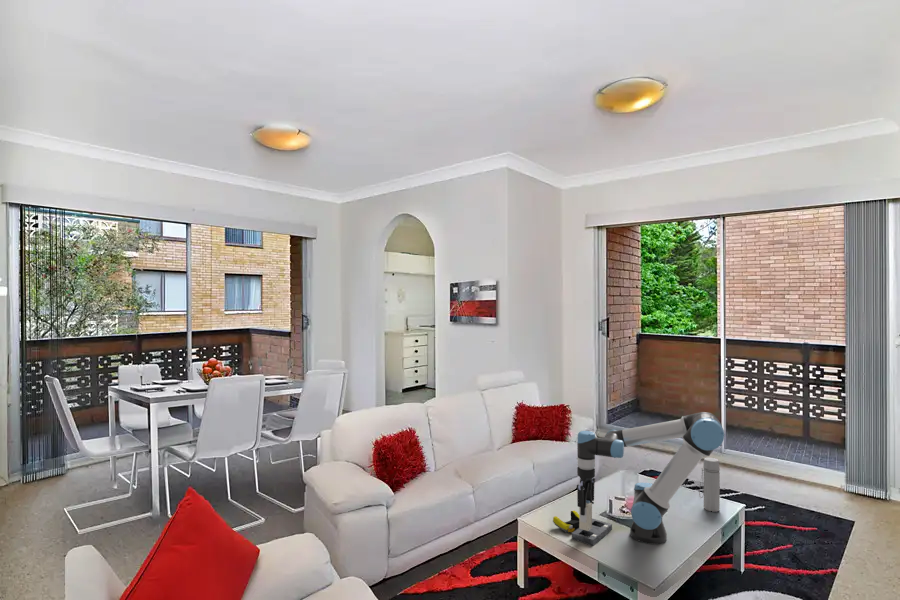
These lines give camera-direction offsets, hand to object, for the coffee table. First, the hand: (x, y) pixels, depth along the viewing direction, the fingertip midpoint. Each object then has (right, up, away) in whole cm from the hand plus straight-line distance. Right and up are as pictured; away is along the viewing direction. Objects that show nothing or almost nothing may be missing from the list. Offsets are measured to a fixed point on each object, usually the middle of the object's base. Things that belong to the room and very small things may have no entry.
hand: (585, 519), depth 230 cm
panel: (+4, -8, +5) cm, 10 cm away
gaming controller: (-4, -9, +11) cm, 15 cm away
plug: (0, -4, 0) cm, 4 cm away
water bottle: (+70, -8, +31) cm, 77 cm away
